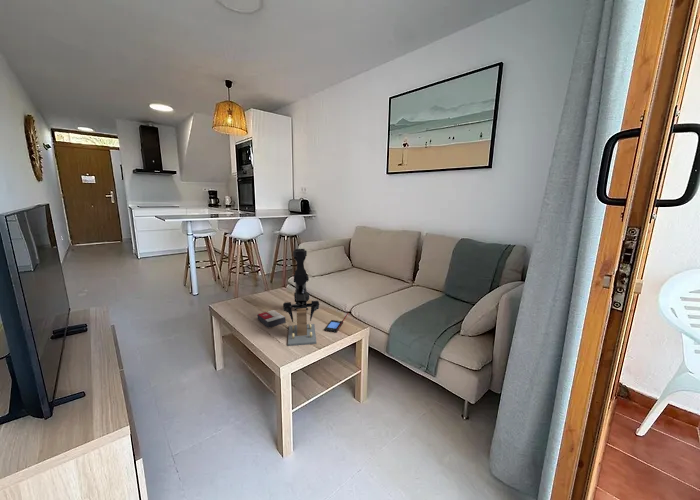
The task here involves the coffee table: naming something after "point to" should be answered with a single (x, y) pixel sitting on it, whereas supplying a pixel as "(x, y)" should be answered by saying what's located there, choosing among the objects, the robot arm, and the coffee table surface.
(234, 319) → the coffee table surface
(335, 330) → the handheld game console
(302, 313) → the walnut block
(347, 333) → the coffee table surface
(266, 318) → the grey and red box
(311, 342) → the plate
